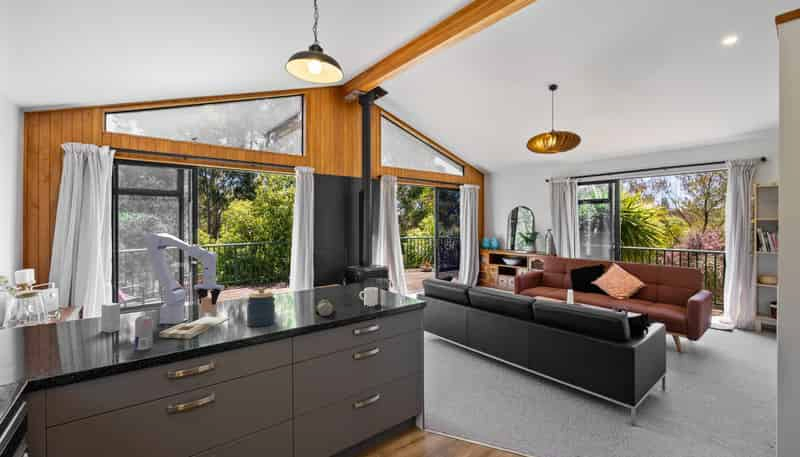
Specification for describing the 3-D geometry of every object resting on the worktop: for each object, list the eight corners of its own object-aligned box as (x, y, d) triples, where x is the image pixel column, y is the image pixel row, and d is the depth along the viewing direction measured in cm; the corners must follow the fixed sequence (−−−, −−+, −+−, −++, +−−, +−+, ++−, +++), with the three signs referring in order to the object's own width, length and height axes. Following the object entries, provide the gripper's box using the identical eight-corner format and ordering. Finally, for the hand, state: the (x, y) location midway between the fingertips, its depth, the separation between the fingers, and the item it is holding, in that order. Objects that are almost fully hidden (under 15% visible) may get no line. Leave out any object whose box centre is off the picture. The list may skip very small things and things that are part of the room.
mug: (356, 305, 204) (356, 288, 204) (373, 302, 211) (373, 286, 211) (362, 307, 198) (362, 291, 197) (380, 305, 205) (380, 289, 204)
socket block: (159, 337, 144) (159, 332, 144) (182, 327, 158) (182, 322, 158) (189, 338, 143) (189, 333, 143) (210, 328, 157) (210, 324, 157)
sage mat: (187, 325, 161) (187, 324, 161) (205, 317, 174) (205, 316, 174) (213, 326, 160) (213, 325, 160) (229, 318, 173) (229, 317, 172)
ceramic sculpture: (315, 300, 176) (313, 296, 190) (315, 317, 176) (313, 312, 190) (336, 299, 180) (332, 295, 194) (336, 316, 179) (332, 311, 193)
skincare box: (120, 330, 153) (120, 303, 152) (110, 333, 148) (109, 305, 148) (111, 328, 155) (111, 302, 154) (100, 331, 150) (100, 304, 150)
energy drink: (141, 345, 134) (141, 315, 134) (155, 345, 135) (155, 315, 135) (131, 351, 129) (131, 319, 129) (146, 350, 130) (146, 319, 129)
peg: (201, 312, 164) (201, 298, 164) (207, 310, 168) (207, 296, 168) (210, 312, 164) (210, 298, 163) (215, 310, 168) (216, 296, 168)
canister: (241, 323, 165) (242, 287, 165) (267, 318, 175) (267, 284, 174) (253, 329, 156) (253, 291, 156) (280, 323, 166) (280, 287, 165)
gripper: (189, 277, 163) (189, 305, 163) (218, 278, 161) (218, 306, 162) (199, 275, 170) (199, 302, 170) (227, 275, 168) (227, 303, 169)
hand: (209, 304), depth 166 cm, fingers closed on peg, 4 cm apart
